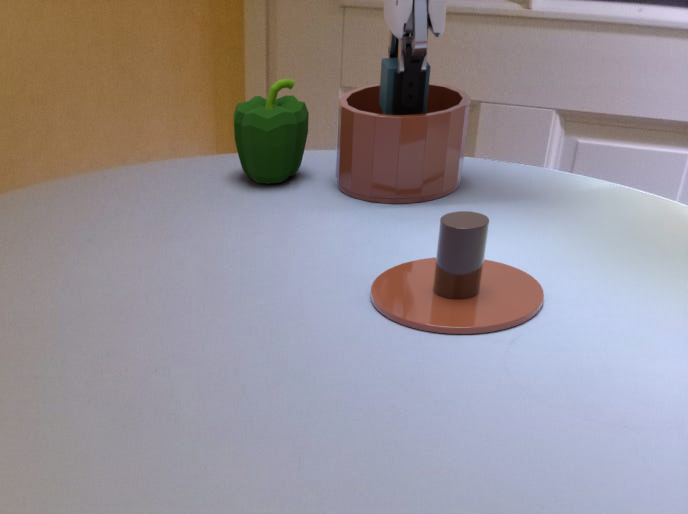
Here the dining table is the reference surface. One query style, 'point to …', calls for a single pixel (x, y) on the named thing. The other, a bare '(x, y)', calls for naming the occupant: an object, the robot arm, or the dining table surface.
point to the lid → (458, 285)
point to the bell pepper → (271, 134)
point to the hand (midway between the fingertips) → (403, 105)
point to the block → (388, 80)
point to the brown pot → (401, 146)
